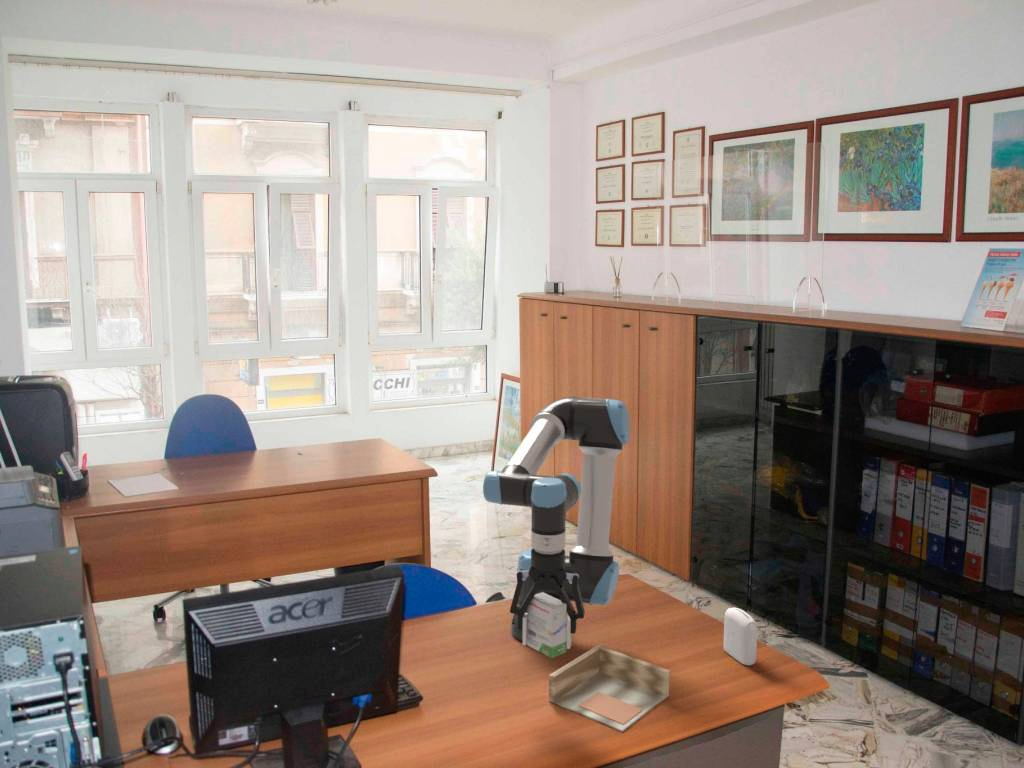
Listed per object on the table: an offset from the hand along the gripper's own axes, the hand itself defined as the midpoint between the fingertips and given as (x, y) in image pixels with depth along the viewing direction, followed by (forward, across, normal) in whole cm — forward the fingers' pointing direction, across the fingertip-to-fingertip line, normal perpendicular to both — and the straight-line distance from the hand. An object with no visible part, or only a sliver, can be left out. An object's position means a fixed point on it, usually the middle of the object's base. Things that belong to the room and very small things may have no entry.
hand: (546, 644), depth 196 cm
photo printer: (+16, +46, +33) cm, 59 cm away
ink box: (+1, 0, 0) cm, 1 cm away
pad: (+16, +14, +2) cm, 21 cm away
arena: (+16, +14, +7) cm, 22 cm away
